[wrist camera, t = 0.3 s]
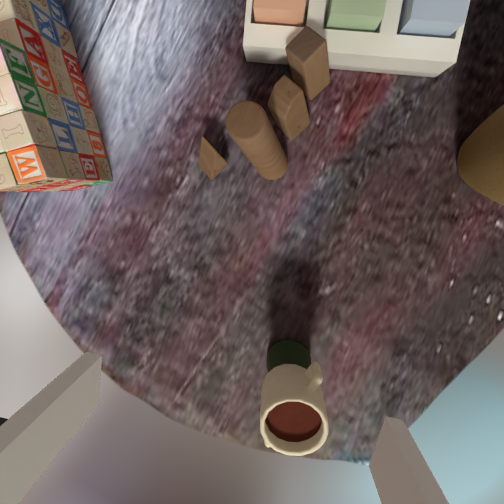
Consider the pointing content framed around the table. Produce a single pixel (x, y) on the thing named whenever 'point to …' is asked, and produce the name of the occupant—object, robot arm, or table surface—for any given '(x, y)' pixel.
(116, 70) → the table surface
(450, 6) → the blue key
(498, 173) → the plant pot
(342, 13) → the sage key
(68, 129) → the stack of blocks
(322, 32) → the key console
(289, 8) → the terracotta key
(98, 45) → the table surface
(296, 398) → the character mug
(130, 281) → the table surface
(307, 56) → the wooden block set
